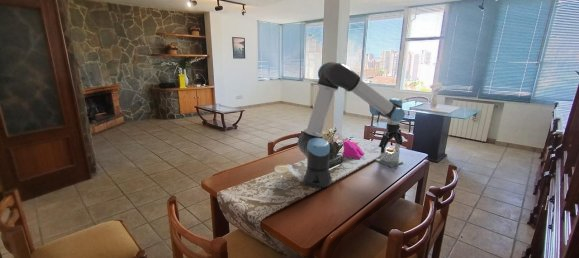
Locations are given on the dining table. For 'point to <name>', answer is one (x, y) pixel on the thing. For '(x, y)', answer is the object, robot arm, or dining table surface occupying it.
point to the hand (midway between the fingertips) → (389, 155)
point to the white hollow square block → (390, 156)
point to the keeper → (388, 163)
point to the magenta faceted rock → (352, 149)
